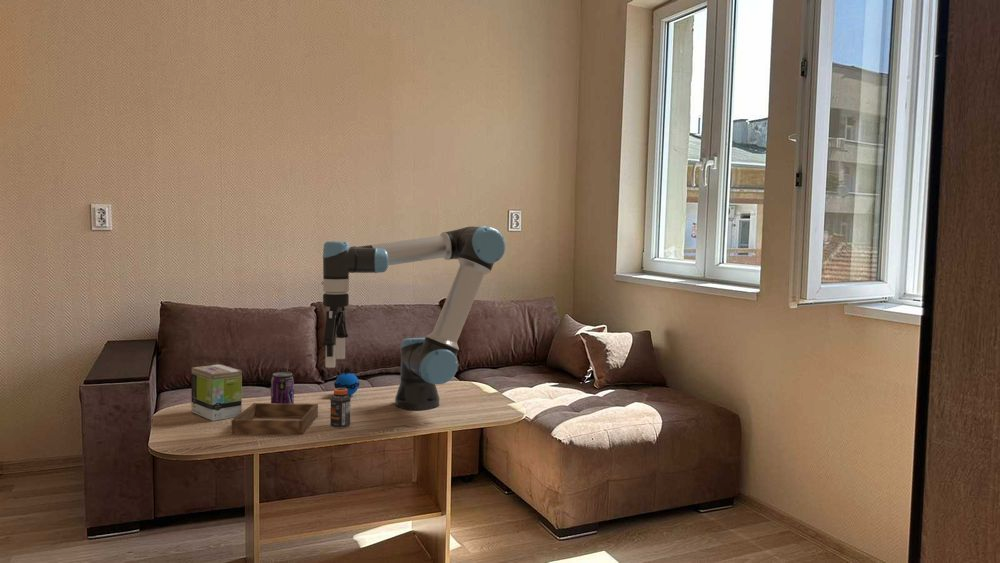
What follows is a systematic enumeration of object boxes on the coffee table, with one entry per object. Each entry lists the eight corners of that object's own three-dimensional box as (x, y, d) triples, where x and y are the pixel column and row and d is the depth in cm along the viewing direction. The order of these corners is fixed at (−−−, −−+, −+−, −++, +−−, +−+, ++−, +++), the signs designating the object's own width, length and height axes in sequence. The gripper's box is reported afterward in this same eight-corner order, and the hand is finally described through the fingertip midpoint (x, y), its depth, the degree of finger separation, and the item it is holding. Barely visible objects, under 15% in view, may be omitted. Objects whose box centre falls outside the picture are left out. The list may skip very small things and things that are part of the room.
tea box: (243, 416, 219) (242, 369, 217) (211, 422, 211) (211, 374, 210) (221, 407, 229) (220, 362, 228) (190, 412, 221) (189, 366, 220)
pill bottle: (326, 425, 210) (326, 388, 210) (342, 421, 215) (343, 385, 214) (337, 429, 206) (338, 392, 206) (354, 425, 211) (354, 389, 210)
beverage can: (286, 413, 223) (287, 376, 222) (266, 412, 224) (266, 375, 223) (297, 408, 229) (297, 372, 229) (278, 406, 231) (278, 371, 230)
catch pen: (317, 416, 220) (317, 404, 220) (302, 434, 200) (302, 421, 200) (253, 415, 219) (253, 403, 219) (231, 434, 200) (231, 420, 199)
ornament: (351, 391, 254) (351, 364, 254) (363, 396, 248) (363, 368, 247) (329, 395, 249) (330, 367, 248) (342, 399, 242) (342, 371, 242)
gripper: (332, 289, 221) (332, 355, 223) (312, 296, 196) (312, 370, 198) (356, 289, 221) (356, 355, 223) (339, 297, 196) (339, 371, 198)
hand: (335, 363), depth 210 cm, fingers open, 13 cm apart
